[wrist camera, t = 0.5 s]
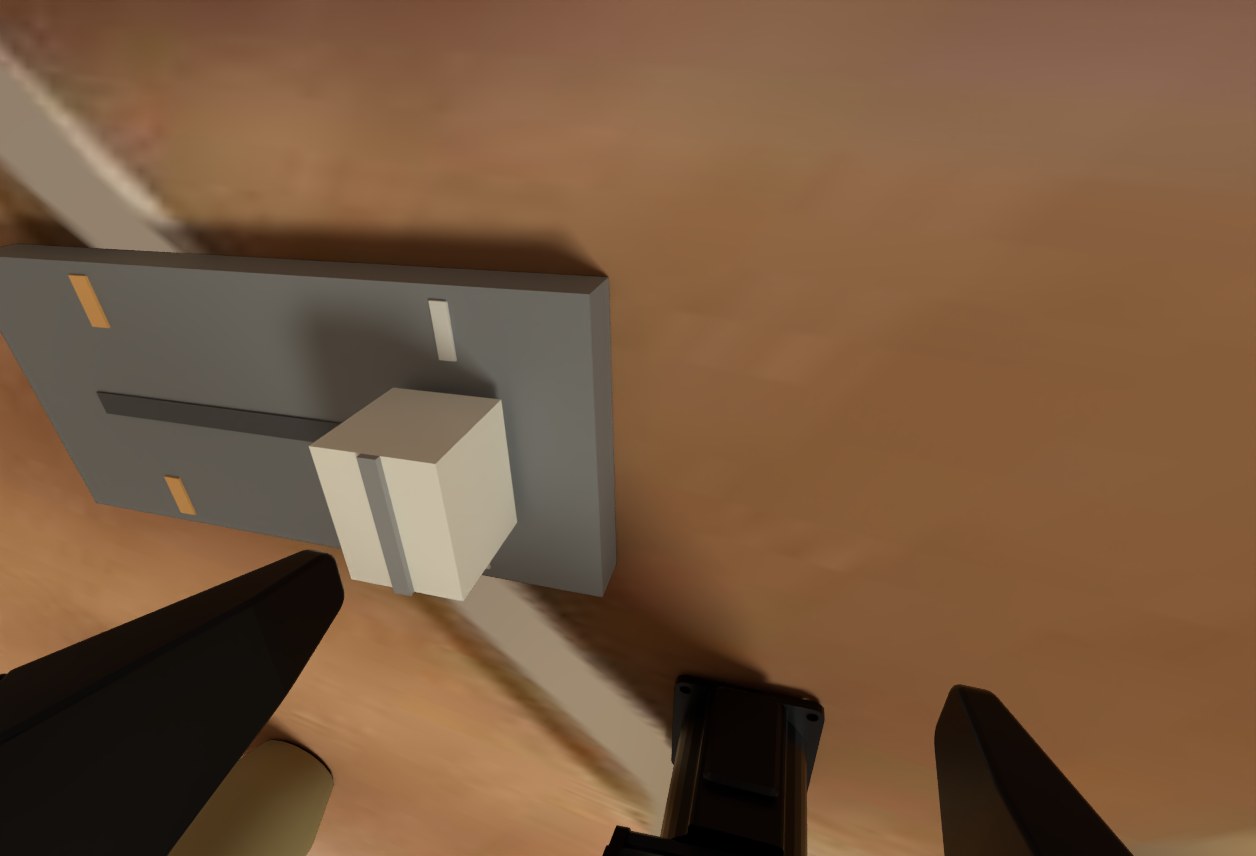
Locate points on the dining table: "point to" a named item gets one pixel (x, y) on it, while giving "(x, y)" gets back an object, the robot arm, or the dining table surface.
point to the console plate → (314, 384)
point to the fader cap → (419, 490)
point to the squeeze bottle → (262, 806)
